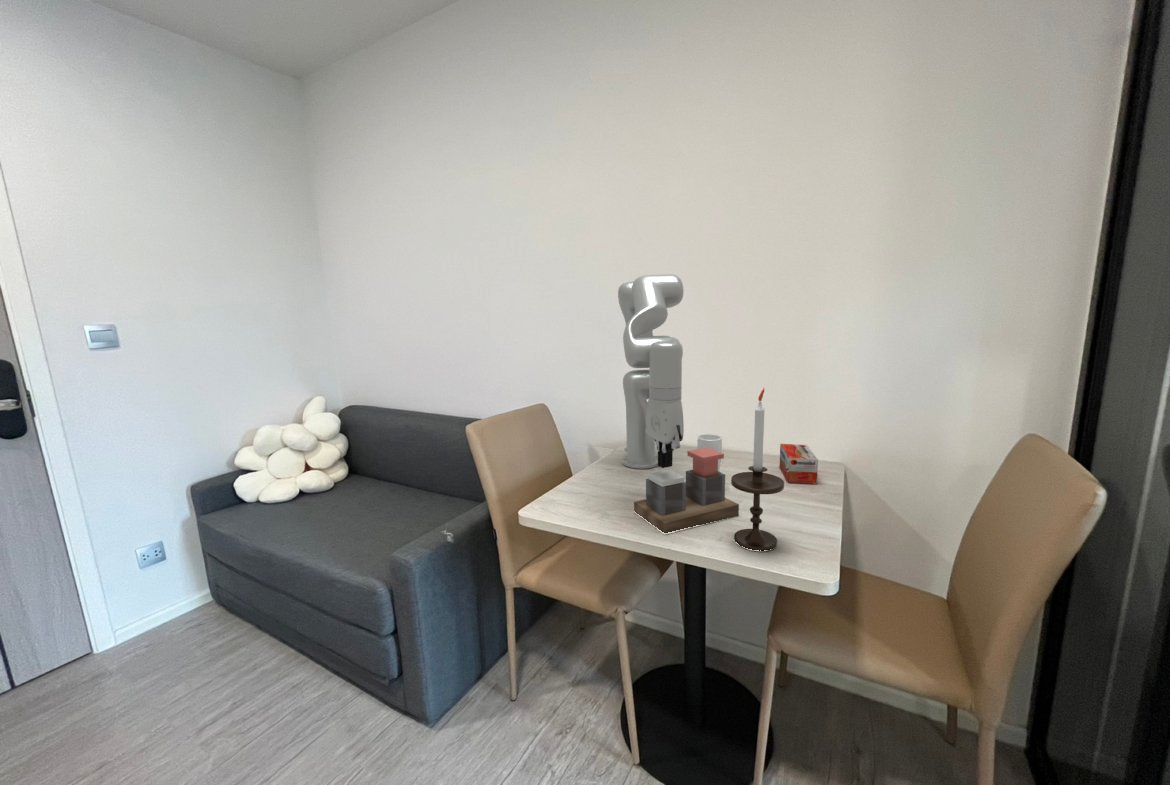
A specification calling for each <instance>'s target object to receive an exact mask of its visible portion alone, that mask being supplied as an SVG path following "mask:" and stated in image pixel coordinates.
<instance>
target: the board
mask: <svg viewBox="0 0 1170 785" xmlns="http://www.w3.org/2000/svg"><path fill="white" fill-rule="evenodd" d="M725 496H726V474H724V473H723V472H722V471H721V472H720V471H718V474H717V475H713V476H708V477H702V476H699V475H697V474H695V473H693V469H689V470H685V481H684V482H682V483H678V484H673V485H669V486H664V487H661V486H660V485H658V484H656V483H654V482H653V481H651V480H649V479H648V478H646V479H645V499H641V500H637V501H636V500H635V501H633V512H634V511H635V512H636V513H637V514H639V515H640V516H642V517H643V518H644V519H646V520H647V521H648V522H650V523H651V524H652V525H654V526H655V527H657V528H658V529H659V530H661V531H662V532H664V533H668V532H672V531H676V530H680V529H684V528H688V527H693V526H696V525H702V524H705V525H707V524H706V523H709V524H711V523H710V522H713V523H715V522H714V521H717V522H720V521H719V520H721V521H723V520H722V519H724V520H727V518H728V519H731V518H732V519H733V518H735V517H738V516H740V515H739V514H740V509H739V508H740V504H739V503H737V502H735V501H733V500H731V499H729V498H727V497H725ZM702 526H703V525H702Z"/></svg>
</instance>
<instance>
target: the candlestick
mask: <svg viewBox="0 0 1170 785" xmlns="http://www.w3.org/2000/svg"><path fill="white" fill-rule="evenodd" d="M764 393H765V387H763V388H762V390H761V392H760V393H759V396H758V403H757V407H755V408H754V429H753V430H754V431H753V432H754V435H753V465H752V466H748V467H747V469H748V470H749V471H743V472H738V473H735V474H733V475H732V476H731V480H730V483H731V486H732V487H733V488H734V489H736V490H739V491H741V492H744V493H749V494H753V504H752V506H751V507H750V508H749V512H750V514H751V515H752V517H750V519H749V521H750V522H751V523H752V528H743V529H740V530H737V531H736V532H735V533H734V534H733V539H734V540H735V541H734V543H735V542H737V543H738V544H739V545H740V546H743V547H745V548H748V549H752V550H759V551H760V550H761V551H764V550H770V549H773V548H775V547H776V546H778V538H777V537H776V536H775V535H774V534H772V533H771V532H768V531H766V530H763V529H760V524H762V522H763V520H762V519H761V516H762V514H764V509H763V508H762V507H761V495H774V494H778V493H782V491H784V489H785V481H784V480H783V479H782V478H781V477H779V476H778V475H775V474H770V473H768V468H767V467H765V466H764V465H763V461H764V460H763V459H764V434H765V433H764V431H765V430H764V429H765V407H763V404H762V400H763V397H764ZM766 472H767V473H766ZM740 546H739V547H740ZM776 548H777V547H776ZM776 548H775V549H776ZM773 550H774V549H773Z"/></svg>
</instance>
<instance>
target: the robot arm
mask: <svg viewBox="0 0 1170 785" xmlns="http://www.w3.org/2000/svg"><path fill="white" fill-rule="evenodd" d="M684 291H685V290H684V284H683V281H682V279H681V278H680V277H679V276H678V275H677V274H672V273H671V274H669V273H667V274H645V275H642V276H638V277H636V279H634V280H633V281H627V282H623V283H622V284H621V285H619V287H618V291H617V298H618V304H619V308H620V310H621V313H622V316H623V319H624V322H625V327H624V331H623V335H622V336H623V337H622V339H623V340H622V342H623V351H624V357H625V361H626V363H627V365H628V366H629V367H631V368H633V369H634V370H630V371H628V372H627V373H625V374H624V375H623V378H622V388H623V393H624V400H625V401H624V402H625V415H626V416H625V417H626V418H625V420H626V424H625V426H626V433H625V434H626V447H624V451H625V452H626V456H624V457H623V458H622V460H621V461H622V464H623V466H625V467H628V468H632V469H642V470H643V469H651V468H652V469H653V468H655V467H659V468H660V469H667V468H671V467H672V466H673V453H674V451H675V450H677V449H681V442H682V441H683V439H684V430H685V429H684V427H685V426H684V425H685V424H684V412H683V411H684V410H683V403H682V386H683V385H682V383H683V382H682V378H683V377H682V376H683V375H682V373H683V372H682V369H683V366H682V365H683V362H682V361H683V356H684V354H683V353H684V349H683V348H684V347H683V344H682V343H681V342H680V341H679V339H678V338H676V337H673V336H672V337H671V336H669V335H654V334H653V331H654V330H656V329H659V328H660V327H661V326H662V325H664V323H666V321H667V318H668V316H669V315H668V314H669V313H668V309H670V308H674V307H675V306H678V305H679V304H680V303H681V302H682V300H683V298H684ZM656 450H657V456H656Z"/></svg>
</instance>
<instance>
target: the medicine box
mask: <svg viewBox="0 0 1170 785" xmlns="http://www.w3.org/2000/svg"><path fill="white" fill-rule="evenodd" d="M779 445H780V446H779V469H780V471H781V473H782V474H783V477H784V479H785V481H786V483H788V484H796V485H797V484H806V485H817V484H818V483H817V482H818V466H819V465H818V464H819V459H818V457H817V456H816V454H814V452H813V451H812V450H811V448H810V447H809V446H808V445H807V444H800V443H799V444H796V443H793V444H792V443H780V444H779Z"/></svg>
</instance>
